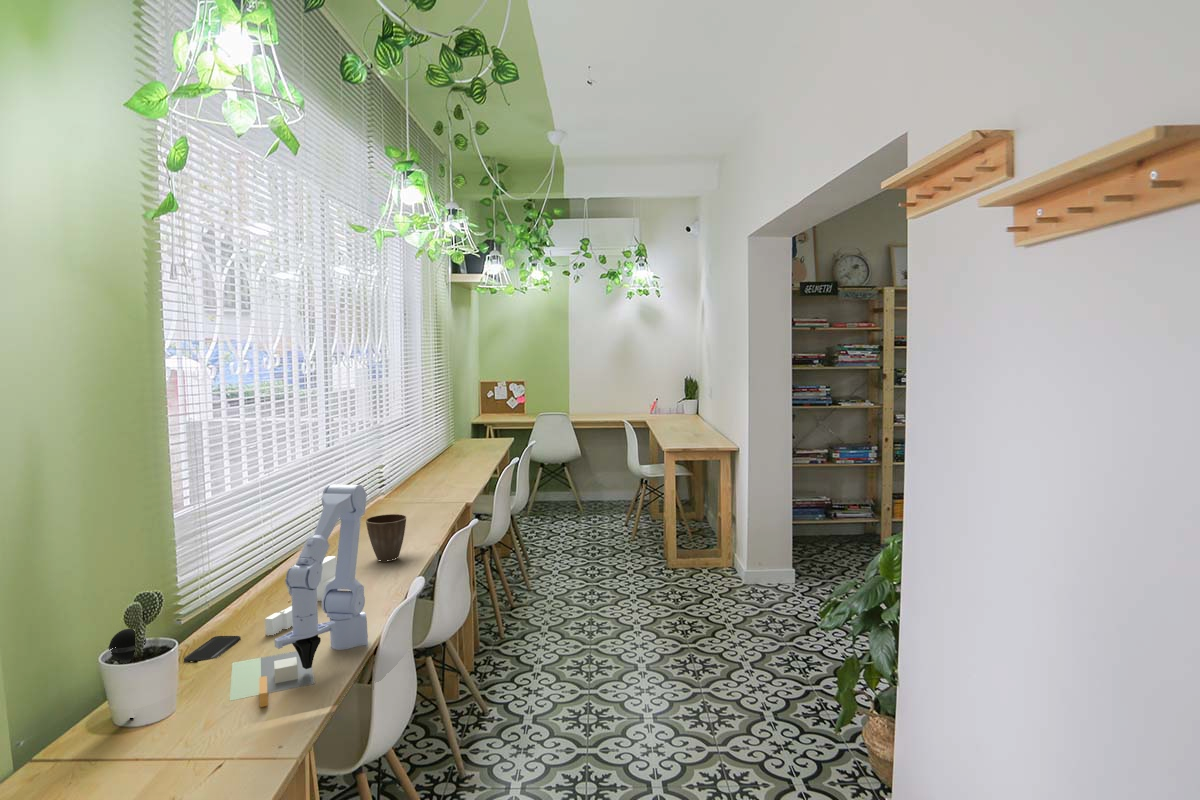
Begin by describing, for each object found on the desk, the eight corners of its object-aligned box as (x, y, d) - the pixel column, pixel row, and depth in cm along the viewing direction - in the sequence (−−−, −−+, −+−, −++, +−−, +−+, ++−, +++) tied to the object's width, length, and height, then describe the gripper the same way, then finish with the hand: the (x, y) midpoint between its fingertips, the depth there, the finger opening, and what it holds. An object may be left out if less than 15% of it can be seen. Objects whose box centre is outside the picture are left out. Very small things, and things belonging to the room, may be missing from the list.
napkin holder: (302, 617, 213) (301, 599, 212) (314, 628, 204) (313, 609, 204) (248, 630, 203) (247, 611, 203) (259, 643, 195) (258, 622, 194)
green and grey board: (308, 652, 187) (308, 648, 187) (315, 687, 167) (315, 683, 167) (232, 666, 179) (232, 662, 179) (229, 705, 159) (229, 700, 159)
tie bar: (267, 688, 164) (266, 675, 164) (267, 705, 156) (267, 692, 156) (259, 689, 163) (259, 677, 163) (259, 707, 155) (259, 694, 155)
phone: (242, 635, 196) (211, 659, 181) (242, 639, 196) (211, 663, 182) (214, 635, 197) (181, 659, 182) (214, 639, 197) (181, 663, 182)
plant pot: (360, 564, 264) (358, 522, 263) (377, 553, 279) (376, 513, 278) (398, 565, 263) (397, 523, 262) (413, 554, 277) (412, 514, 276)
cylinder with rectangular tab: (321, 590, 236) (320, 555, 235) (345, 592, 234) (344, 556, 233) (305, 600, 227) (303, 563, 226) (330, 601, 225) (328, 564, 224)
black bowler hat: (144, 724, 151) (139, 633, 150) (107, 729, 149) (102, 637, 148) (154, 708, 158) (150, 621, 156) (119, 713, 156) (114, 625, 154)
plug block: (296, 670, 174) (296, 656, 174) (298, 678, 169) (297, 664, 169) (274, 674, 172) (274, 660, 171) (275, 683, 167) (274, 669, 167)
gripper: (324, 601, 180) (326, 653, 181) (267, 618, 169) (269, 672, 169) (339, 607, 175) (340, 660, 176) (281, 625, 164) (283, 681, 165)
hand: (307, 667), depth 172 cm, fingers closed
